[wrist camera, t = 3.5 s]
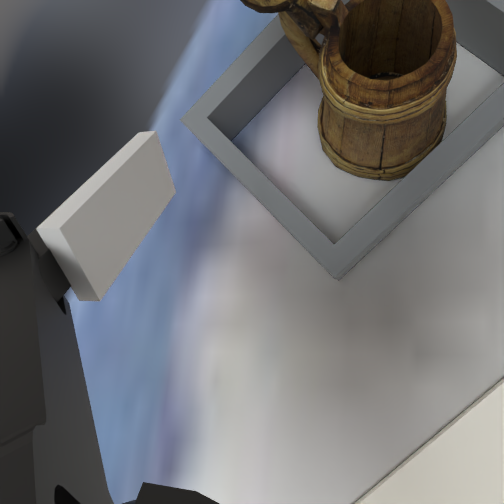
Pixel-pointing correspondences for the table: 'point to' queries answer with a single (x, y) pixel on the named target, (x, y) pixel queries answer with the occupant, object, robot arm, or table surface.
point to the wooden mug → (374, 77)
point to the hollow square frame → (404, 193)
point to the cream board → (453, 461)
